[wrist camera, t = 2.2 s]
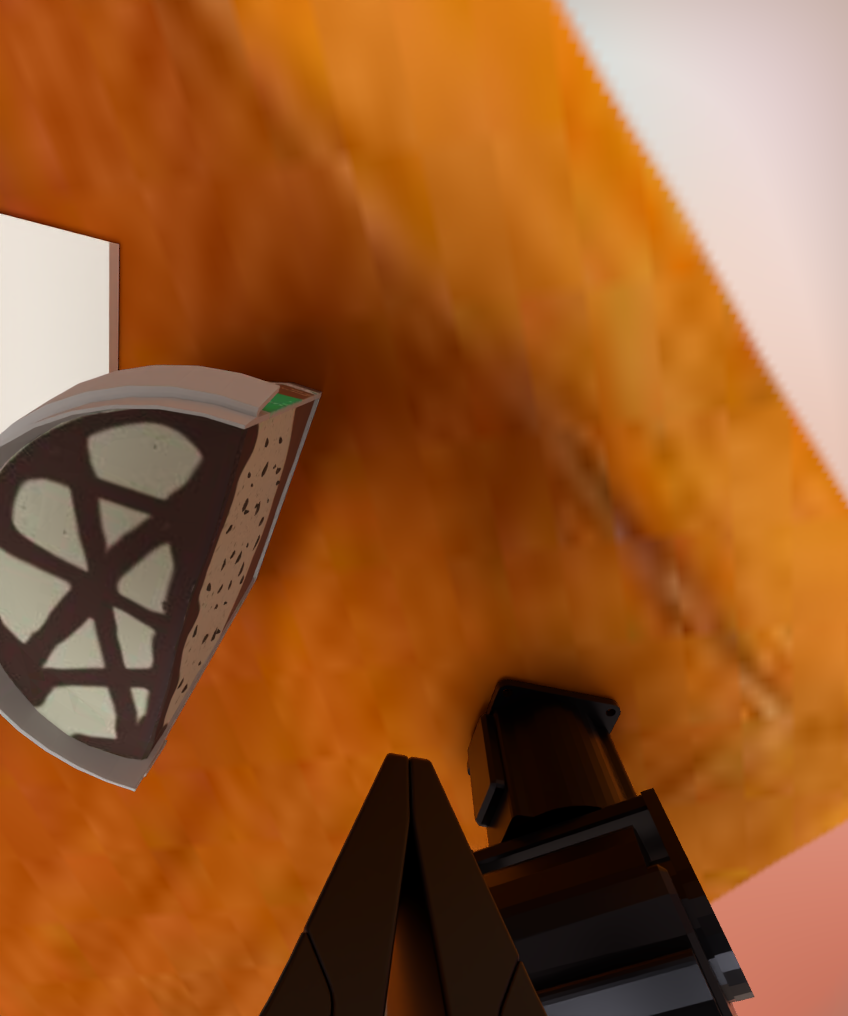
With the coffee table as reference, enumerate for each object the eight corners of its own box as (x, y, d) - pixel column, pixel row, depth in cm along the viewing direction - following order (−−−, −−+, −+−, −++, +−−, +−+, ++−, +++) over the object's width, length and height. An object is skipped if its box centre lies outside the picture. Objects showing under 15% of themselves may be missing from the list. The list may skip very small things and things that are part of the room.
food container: (176, 286, 18) (-85, 261, 9) (335, 355, 19) (253, 401, 10) (114, 559, 22) (-105, 740, 13) (247, 605, 23) (131, 804, 14)
